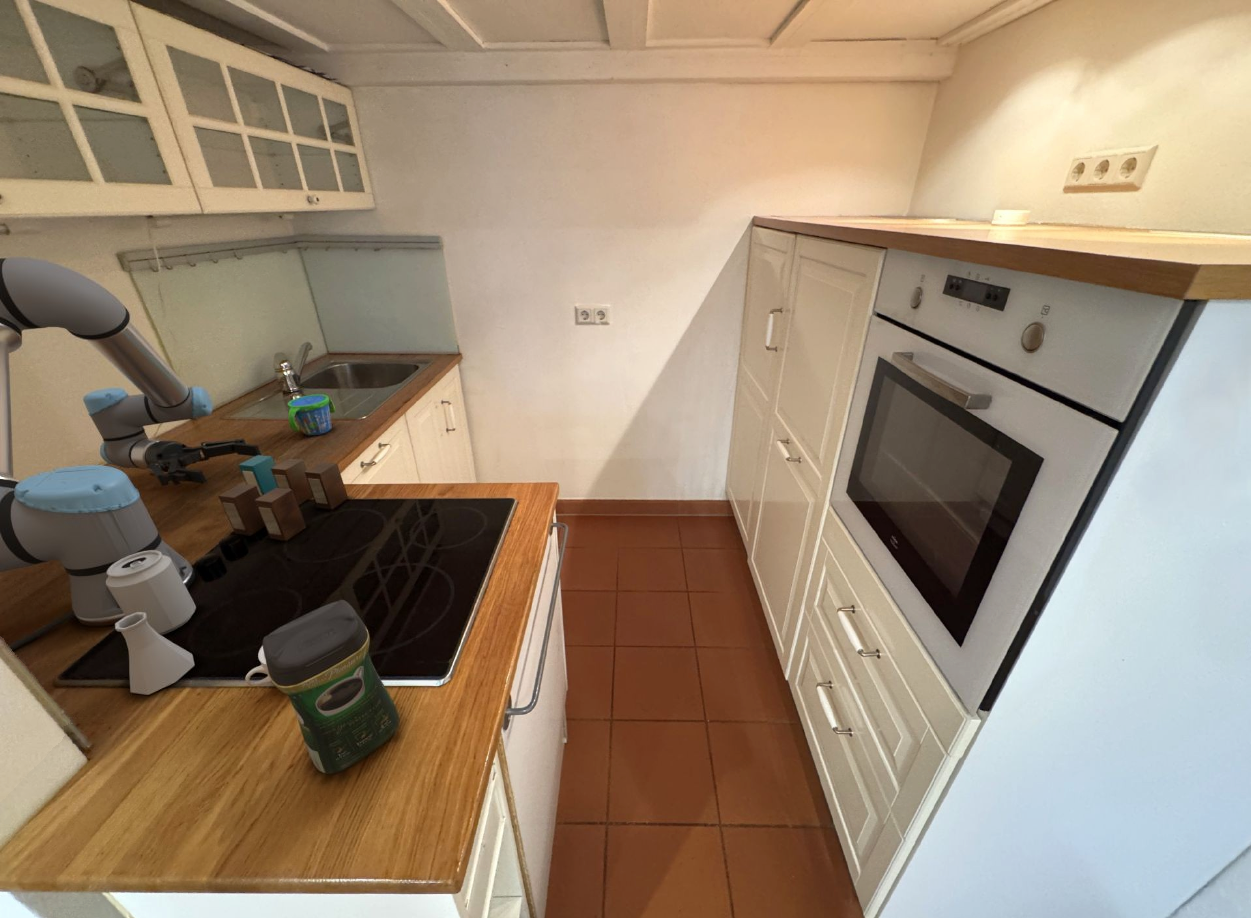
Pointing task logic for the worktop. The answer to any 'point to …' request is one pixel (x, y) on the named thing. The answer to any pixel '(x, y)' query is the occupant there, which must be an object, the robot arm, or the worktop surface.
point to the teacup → (261, 669)
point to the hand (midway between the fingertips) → (231, 463)
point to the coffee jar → (332, 685)
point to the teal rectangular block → (259, 473)
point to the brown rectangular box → (293, 478)
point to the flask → (151, 656)
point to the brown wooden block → (280, 513)
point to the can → (151, 590)
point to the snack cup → (311, 414)
